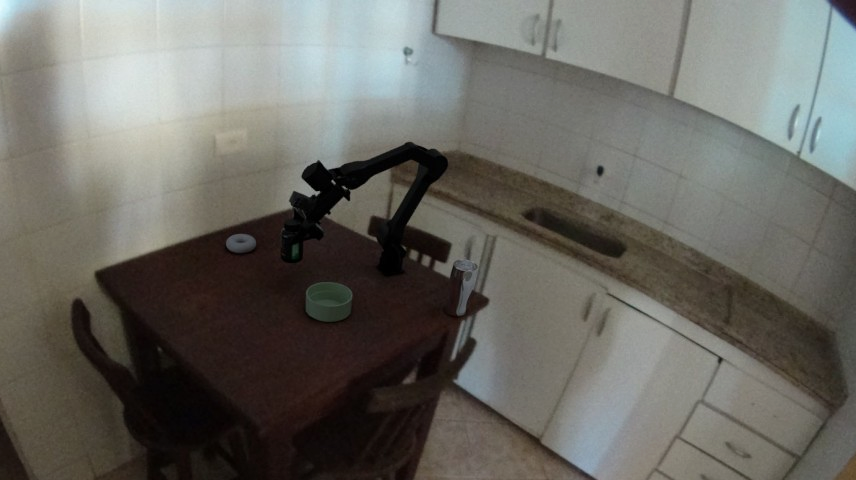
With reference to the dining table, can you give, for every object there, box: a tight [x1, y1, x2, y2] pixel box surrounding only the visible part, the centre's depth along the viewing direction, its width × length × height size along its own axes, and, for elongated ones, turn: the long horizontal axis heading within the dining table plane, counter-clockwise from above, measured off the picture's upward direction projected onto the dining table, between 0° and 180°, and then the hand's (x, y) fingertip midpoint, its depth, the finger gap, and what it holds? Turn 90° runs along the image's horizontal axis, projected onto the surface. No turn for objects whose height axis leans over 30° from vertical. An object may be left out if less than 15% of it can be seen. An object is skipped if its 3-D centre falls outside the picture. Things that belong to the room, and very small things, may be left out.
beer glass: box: [444, 259, 479, 318], centre depth 171 cm, size 7×7×15 cm
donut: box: [225, 233, 257, 254], centre depth 202 cm, size 10×3×10 cm
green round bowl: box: [304, 281, 354, 323], centre depth 173 cm, size 13×13×6 cm
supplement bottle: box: [280, 217, 305, 264], centre depth 181 cm, size 7×7×12 cm
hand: (287, 238), depth 180 cm, fingers closed on supplement bottle, 7 cm apart
